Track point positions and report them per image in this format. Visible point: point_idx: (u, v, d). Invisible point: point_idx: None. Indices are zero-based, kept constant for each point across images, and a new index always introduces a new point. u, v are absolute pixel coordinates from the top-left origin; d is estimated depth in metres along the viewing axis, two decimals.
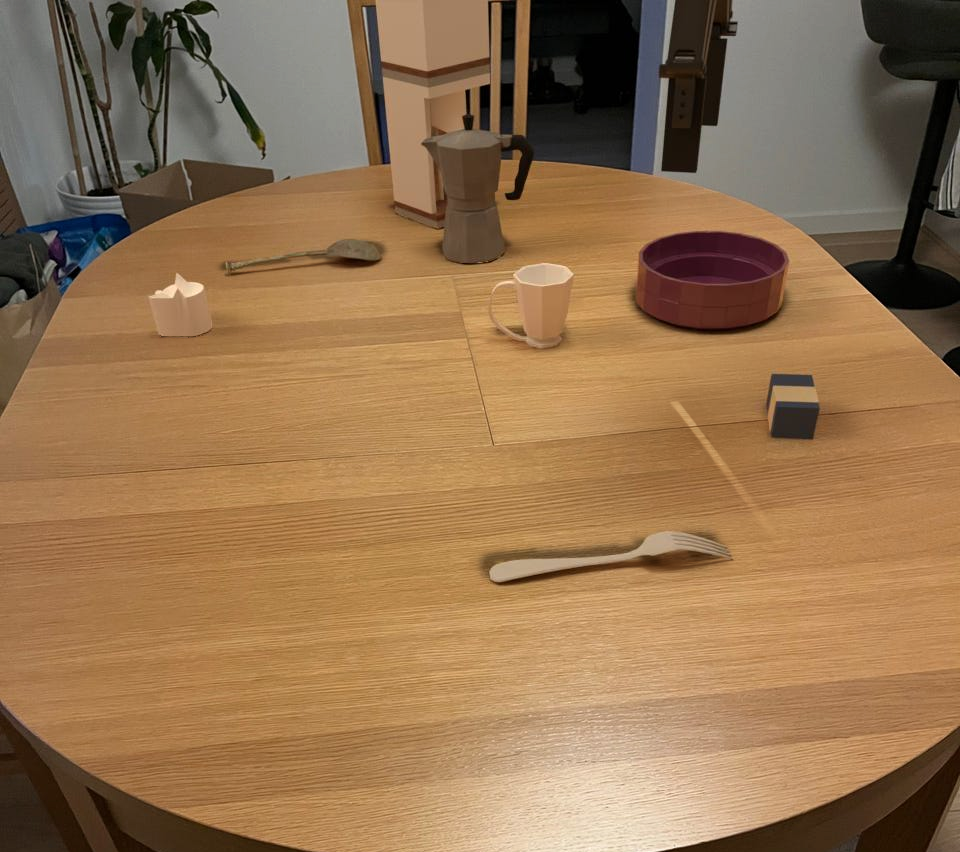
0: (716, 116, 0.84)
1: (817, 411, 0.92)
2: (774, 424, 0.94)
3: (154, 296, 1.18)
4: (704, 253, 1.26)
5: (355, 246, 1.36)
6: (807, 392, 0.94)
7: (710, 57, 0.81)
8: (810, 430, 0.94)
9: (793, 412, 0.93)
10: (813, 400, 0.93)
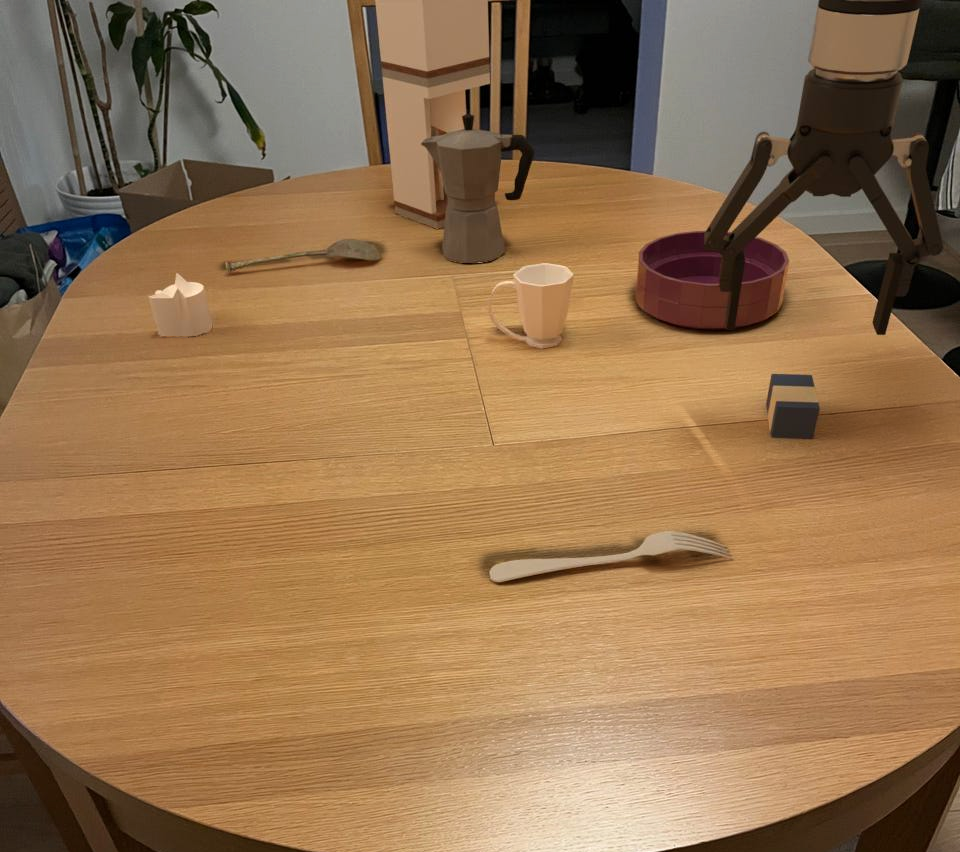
0: (878, 326, 0.88)
1: (817, 411, 0.92)
2: (774, 424, 0.94)
3: (154, 296, 1.18)
4: (704, 253, 1.26)
5: (355, 246, 1.36)
6: (807, 392, 0.94)
7: (888, 273, 0.86)
8: (810, 430, 0.94)
9: (793, 412, 0.93)
10: (813, 400, 0.93)
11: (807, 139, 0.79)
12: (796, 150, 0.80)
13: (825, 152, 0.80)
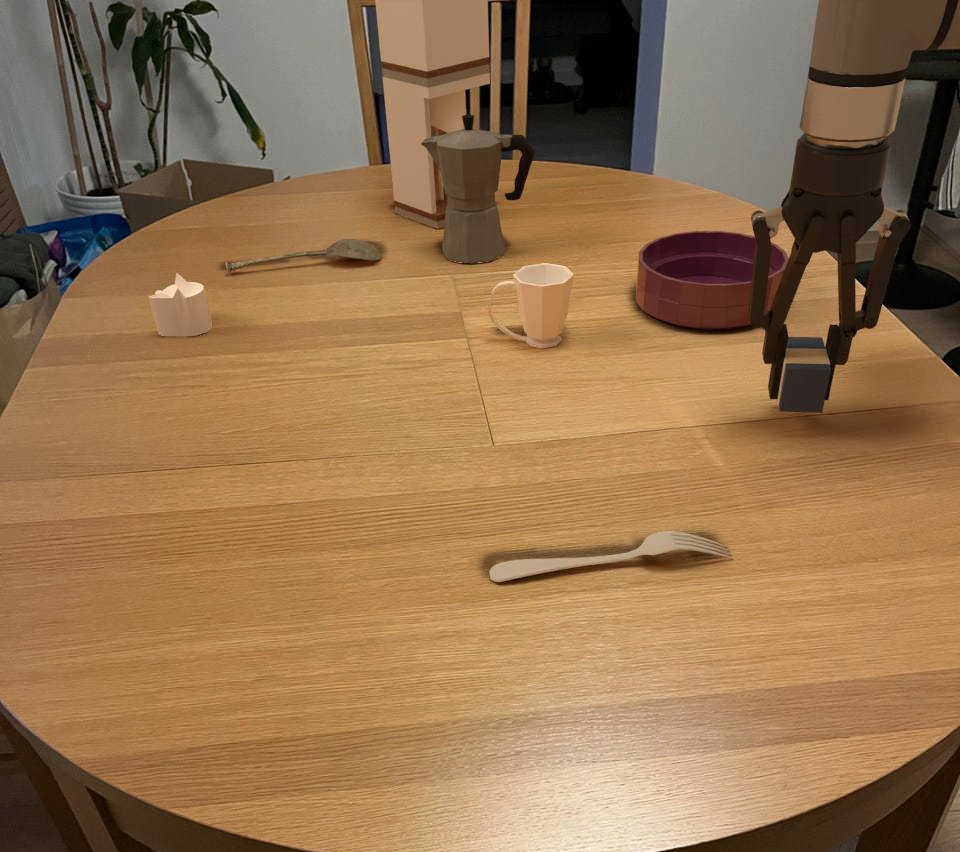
0: None
1: (828, 373, 0.90)
2: (784, 387, 0.91)
3: (154, 296, 1.18)
4: (704, 253, 1.26)
5: (355, 246, 1.36)
6: (818, 354, 0.92)
7: (828, 344, 0.91)
8: (821, 393, 0.91)
9: (803, 374, 0.90)
10: (824, 362, 0.91)
11: (794, 200, 0.83)
12: (790, 210, 0.83)
13: (814, 213, 0.83)
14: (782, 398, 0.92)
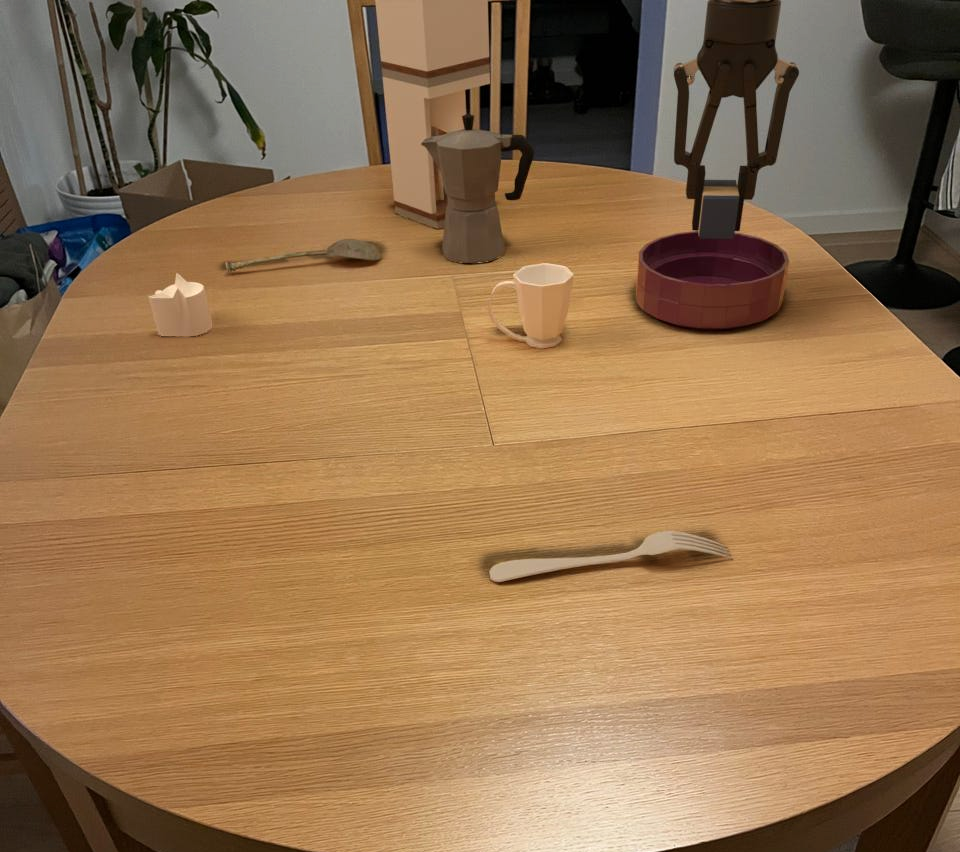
0: None
1: (737, 202, 1.10)
2: (702, 216, 1.12)
3: (154, 296, 1.18)
4: (704, 253, 1.26)
5: (355, 246, 1.36)
6: (730, 189, 1.12)
7: (738, 181, 1.12)
8: (732, 221, 1.12)
9: (717, 203, 1.10)
10: (734, 194, 1.11)
11: (706, 51, 1.03)
12: (703, 60, 1.03)
13: (722, 62, 1.03)
14: (701, 226, 1.12)
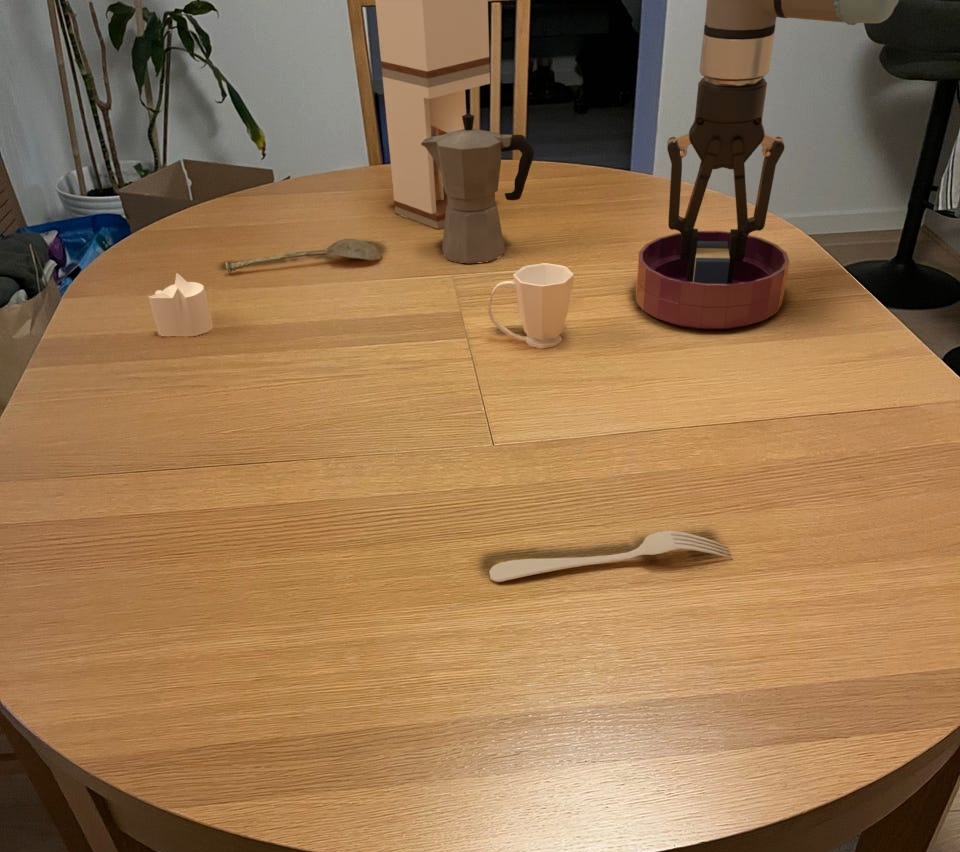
0: None
1: (728, 264, 1.17)
2: (695, 276, 1.19)
3: (154, 296, 1.18)
4: None
5: (355, 246, 1.36)
6: (721, 252, 1.19)
7: (729, 244, 1.19)
8: (723, 281, 1.19)
9: (709, 266, 1.18)
10: (725, 257, 1.18)
11: (697, 127, 1.10)
12: (694, 135, 1.11)
13: (712, 137, 1.10)
14: None
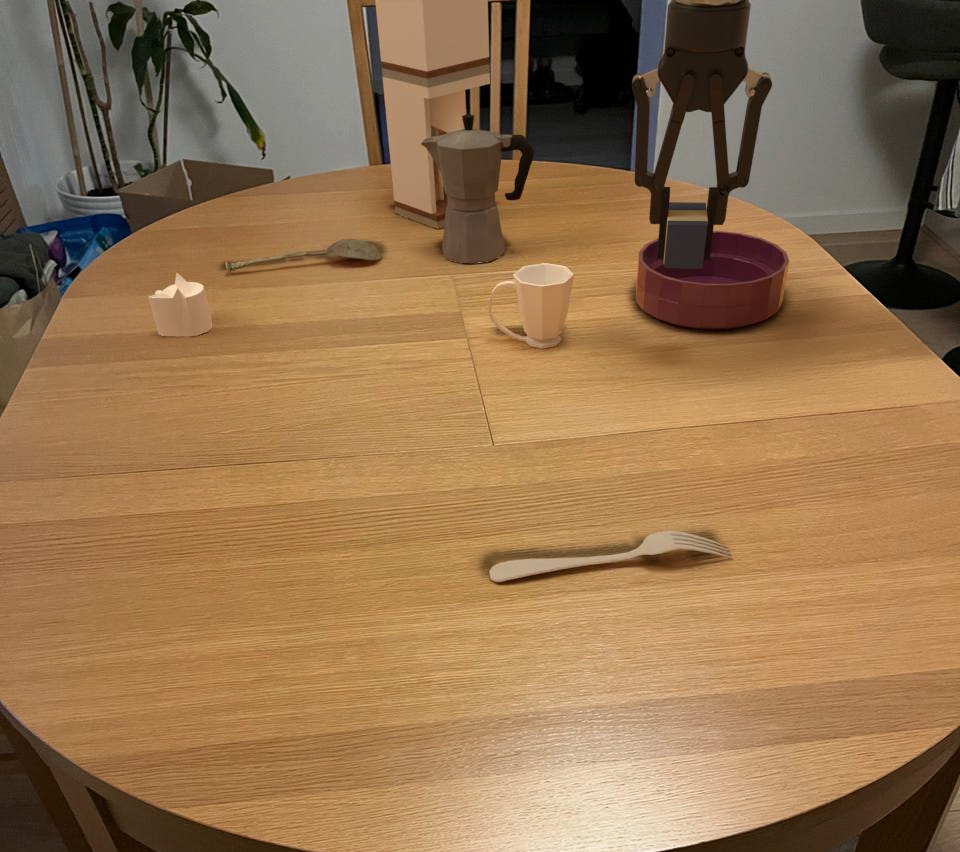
0: None
1: (705, 228, 0.98)
2: (666, 243, 1.00)
3: (154, 296, 1.18)
4: None
5: (355, 246, 1.36)
6: (698, 214, 1.00)
7: (707, 204, 1.00)
8: (700, 249, 1.00)
9: (683, 230, 0.99)
10: (702, 219, 0.99)
11: (667, 60, 0.91)
12: (664, 70, 0.92)
13: (685, 72, 0.91)
14: (665, 254, 1.01)
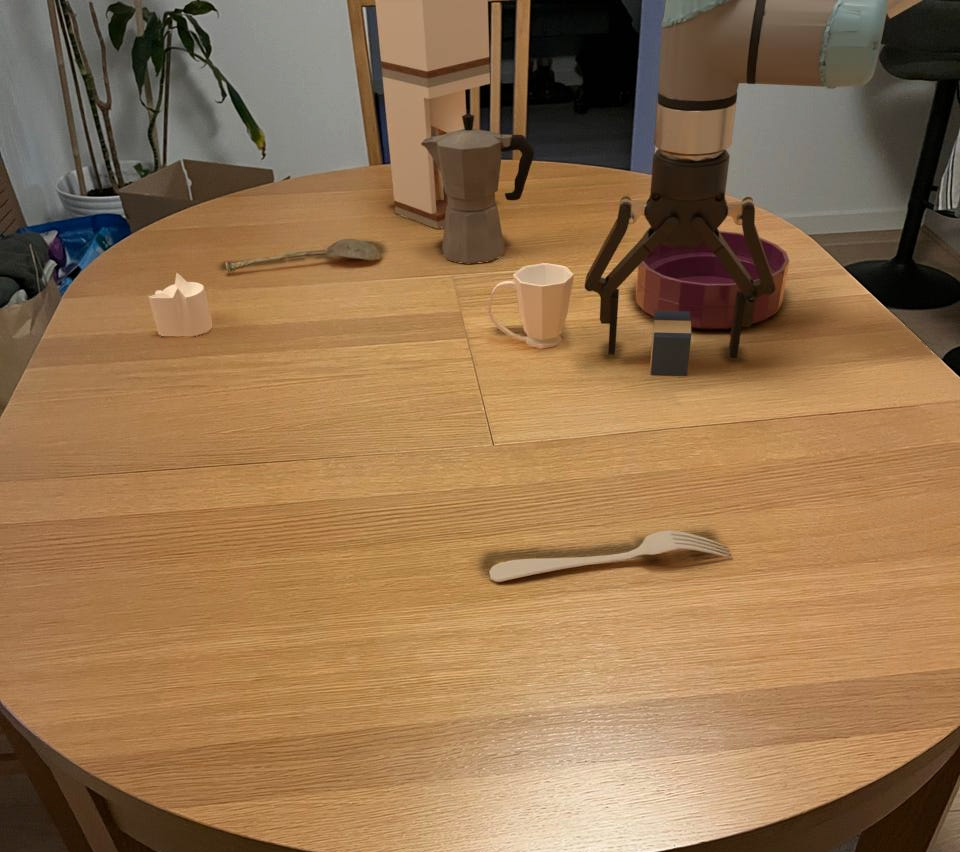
0: (731, 351, 1.07)
1: (689, 340, 1.05)
2: (653, 353, 1.07)
3: (154, 296, 1.18)
4: (704, 253, 1.26)
5: (355, 246, 1.36)
6: (682, 325, 1.07)
7: (735, 308, 1.05)
8: (684, 358, 1.06)
9: (668, 341, 1.05)
10: (686, 331, 1.06)
11: (658, 203, 0.98)
12: (650, 212, 0.99)
13: (673, 213, 0.99)
14: (652, 362, 1.07)
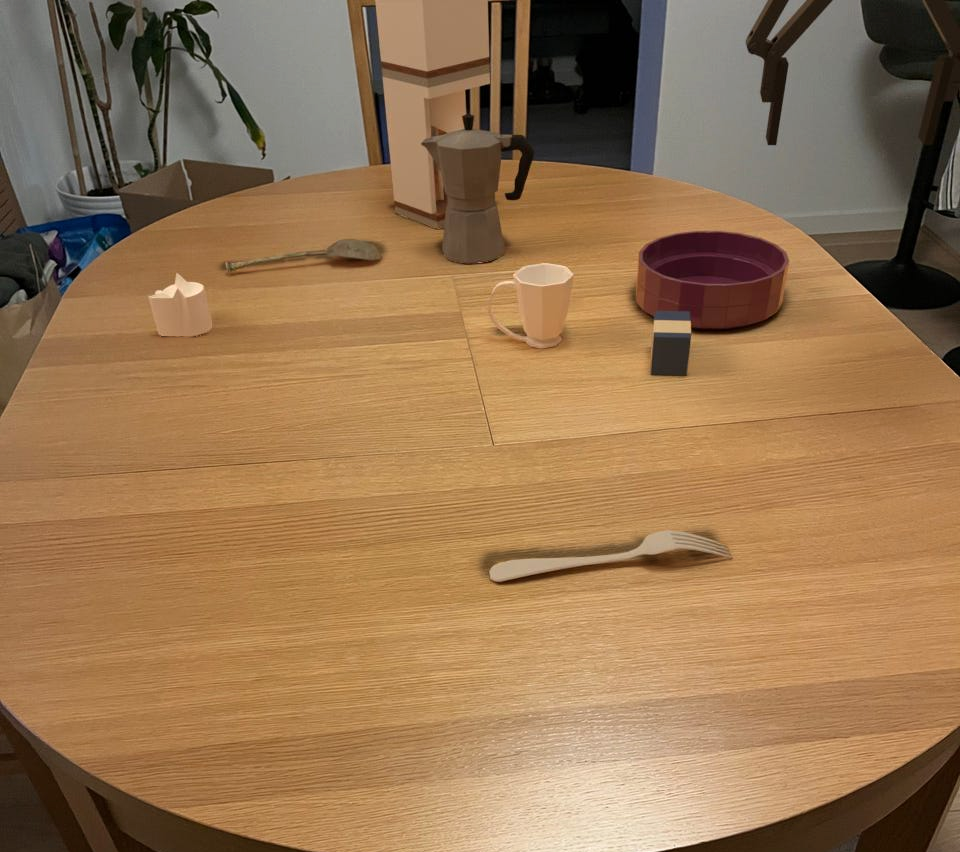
0: (925, 135, 0.86)
1: (689, 340, 1.05)
2: (653, 353, 1.07)
3: (154, 296, 1.18)
4: (704, 253, 1.26)
5: (355, 246, 1.36)
6: (682, 325, 1.07)
7: (937, 76, 0.84)
8: (684, 358, 1.06)
9: (668, 341, 1.05)
10: (686, 331, 1.06)
11: None
12: None
13: None
14: (652, 362, 1.07)
